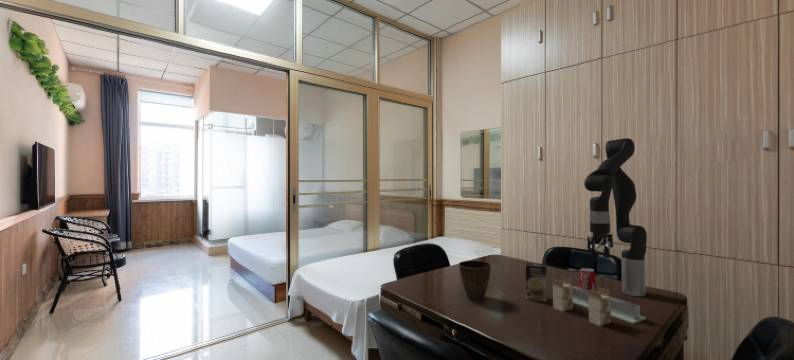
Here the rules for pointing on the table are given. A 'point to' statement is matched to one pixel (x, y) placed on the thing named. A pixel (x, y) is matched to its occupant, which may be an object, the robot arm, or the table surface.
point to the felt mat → (614, 314)
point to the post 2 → (599, 307)
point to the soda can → (587, 279)
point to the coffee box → (536, 282)
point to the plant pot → (475, 278)
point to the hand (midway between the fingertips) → (600, 259)
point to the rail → (616, 304)
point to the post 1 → (562, 294)
